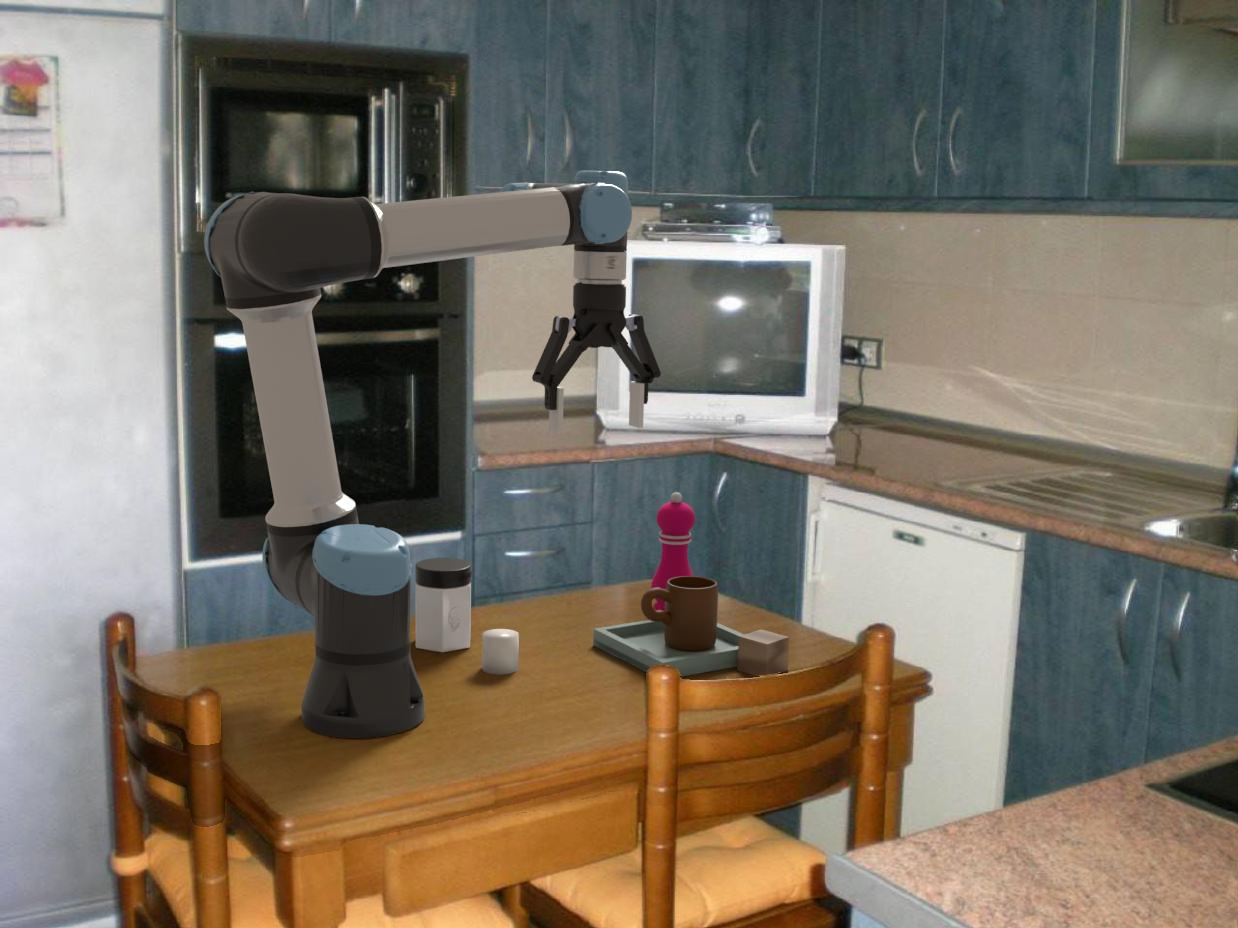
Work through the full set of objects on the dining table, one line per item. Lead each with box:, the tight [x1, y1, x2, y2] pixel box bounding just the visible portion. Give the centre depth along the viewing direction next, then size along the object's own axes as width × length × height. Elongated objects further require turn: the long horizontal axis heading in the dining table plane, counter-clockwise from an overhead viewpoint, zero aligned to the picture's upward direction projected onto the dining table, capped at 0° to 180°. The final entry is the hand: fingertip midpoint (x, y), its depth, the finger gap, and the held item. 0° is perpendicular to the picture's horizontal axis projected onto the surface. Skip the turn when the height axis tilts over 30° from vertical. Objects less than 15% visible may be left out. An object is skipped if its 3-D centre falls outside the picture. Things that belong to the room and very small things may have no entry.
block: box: [736, 629, 790, 677], centre depth 202 cm, size 5×5×5 cm
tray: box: [592, 619, 744, 678], centre depth 209 cm, size 18×18×2 cm
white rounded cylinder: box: [481, 628, 520, 675], centre depth 200 cm, size 5×5×5 cm
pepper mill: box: [650, 491, 696, 611], centre depth 226 cm, size 7×7×20 cm
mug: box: [640, 575, 719, 651], centre depth 208 cm, size 12×8×9 cm, turn 117°
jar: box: [414, 557, 473, 653], centre depth 210 cm, size 9×8×12 cm
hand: (596, 429), depth 208 cm, fingers open, 13 cm apart
